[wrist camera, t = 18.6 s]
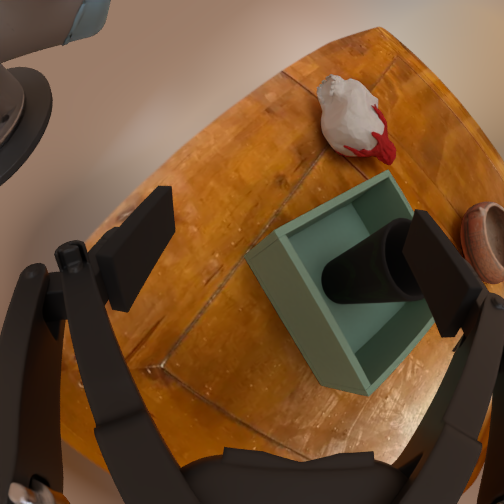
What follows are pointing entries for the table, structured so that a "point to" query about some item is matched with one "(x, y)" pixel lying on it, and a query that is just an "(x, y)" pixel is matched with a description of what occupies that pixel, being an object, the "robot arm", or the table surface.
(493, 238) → the bowl
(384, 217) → the open storage box
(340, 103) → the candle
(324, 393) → the table surface
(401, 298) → the cup
